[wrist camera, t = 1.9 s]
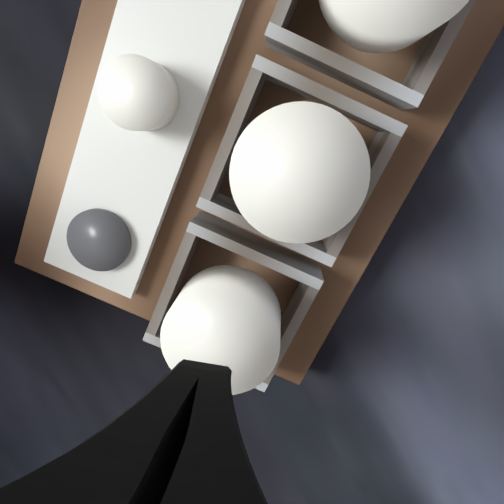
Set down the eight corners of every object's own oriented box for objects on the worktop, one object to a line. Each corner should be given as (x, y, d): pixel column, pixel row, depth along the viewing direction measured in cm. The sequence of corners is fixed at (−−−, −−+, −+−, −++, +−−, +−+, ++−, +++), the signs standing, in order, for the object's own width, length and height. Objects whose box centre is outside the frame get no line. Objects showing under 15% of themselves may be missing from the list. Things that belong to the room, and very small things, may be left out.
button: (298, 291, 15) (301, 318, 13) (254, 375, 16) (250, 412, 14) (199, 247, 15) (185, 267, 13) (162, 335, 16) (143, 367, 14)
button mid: (379, 137, 13) (397, 138, 11) (323, 244, 14) (330, 264, 12) (267, 84, 13) (263, 76, 11) (219, 197, 14) (208, 210, 12)
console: (514, -20, 15) (581, -64, 11) (298, 366, 20) (300, 414, 17) (157, -198, 14) (117, -301, 11) (34, 252, 19) (-19, 278, 16)
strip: (290, -118, 13) (291, -163, 11) (135, 293, 18) (116, 314, 16) (176, -175, 13) (156, -231, 11) (51, 257, 18) (21, 273, 16)
